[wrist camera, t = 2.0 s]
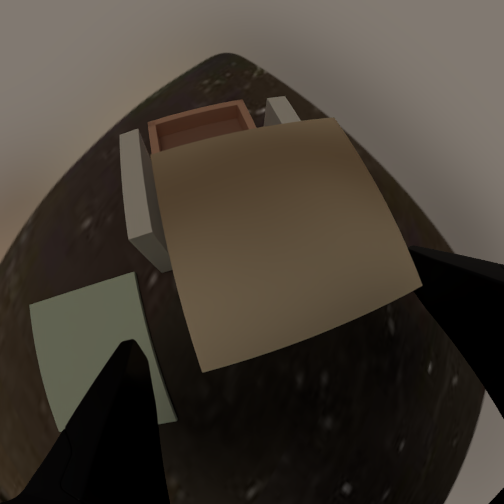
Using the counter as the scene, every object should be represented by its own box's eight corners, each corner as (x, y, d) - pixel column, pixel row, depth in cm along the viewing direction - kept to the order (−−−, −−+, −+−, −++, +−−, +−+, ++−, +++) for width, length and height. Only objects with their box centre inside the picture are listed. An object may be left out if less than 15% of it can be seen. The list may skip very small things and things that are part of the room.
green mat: (177, 419, 14) (176, 421, 14) (61, 430, 13) (59, 431, 12) (136, 273, 17) (133, 271, 17) (32, 305, 16) (29, 305, 15)
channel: (309, 229, 19) (336, 182, 13) (161, 272, 17) (128, 239, 12) (274, 153, 21) (284, 96, 15) (145, 186, 19) (119, 135, 14)
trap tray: (260, 155, 21) (262, 139, 19) (160, 182, 19) (153, 166, 18) (241, 115, 22) (242, 99, 20) (153, 138, 21) (147, 122, 19)
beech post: (304, 325, 17) (422, 285, 5) (228, 351, 16) (201, 372, 4) (278, 253, 18) (333, 117, 7) (204, 275, 17) (150, 154, 6)
